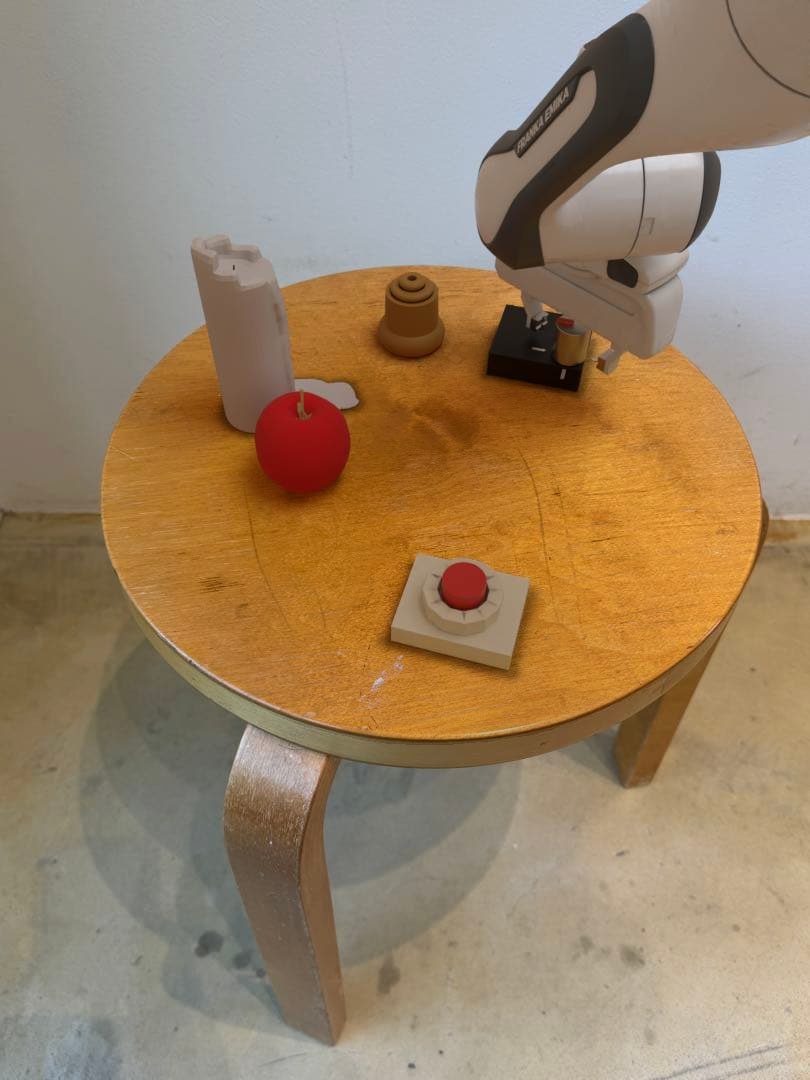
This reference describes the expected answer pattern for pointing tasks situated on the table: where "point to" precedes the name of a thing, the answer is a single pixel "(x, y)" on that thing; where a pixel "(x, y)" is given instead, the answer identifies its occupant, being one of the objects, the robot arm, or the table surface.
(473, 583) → the power button
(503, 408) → the table surface
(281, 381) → the candle
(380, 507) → the table surface
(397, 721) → the table surface
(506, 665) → the switch box
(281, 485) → the fruit
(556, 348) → the dial knob
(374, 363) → the table surface
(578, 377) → the dial panel
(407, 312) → the ornamental finial
